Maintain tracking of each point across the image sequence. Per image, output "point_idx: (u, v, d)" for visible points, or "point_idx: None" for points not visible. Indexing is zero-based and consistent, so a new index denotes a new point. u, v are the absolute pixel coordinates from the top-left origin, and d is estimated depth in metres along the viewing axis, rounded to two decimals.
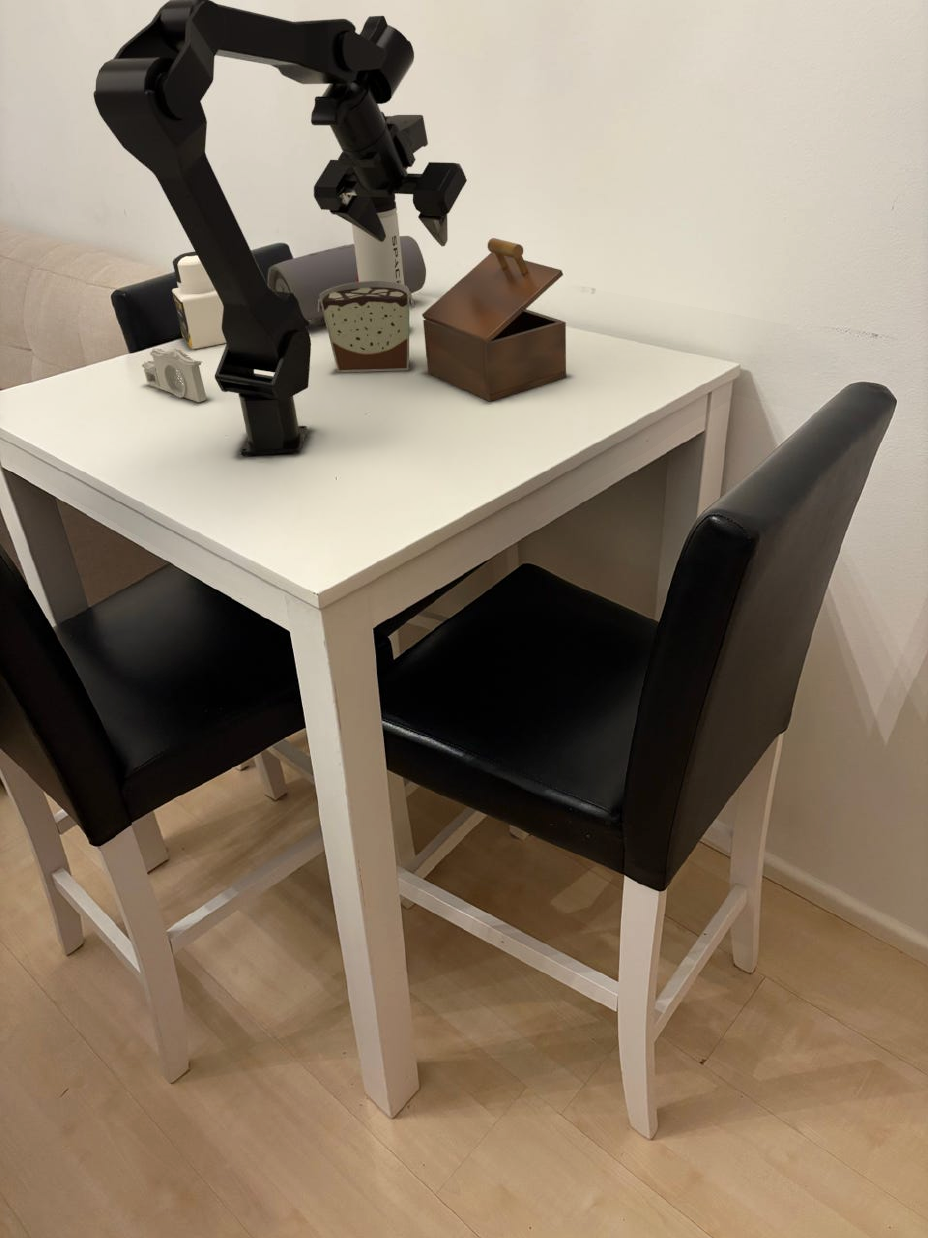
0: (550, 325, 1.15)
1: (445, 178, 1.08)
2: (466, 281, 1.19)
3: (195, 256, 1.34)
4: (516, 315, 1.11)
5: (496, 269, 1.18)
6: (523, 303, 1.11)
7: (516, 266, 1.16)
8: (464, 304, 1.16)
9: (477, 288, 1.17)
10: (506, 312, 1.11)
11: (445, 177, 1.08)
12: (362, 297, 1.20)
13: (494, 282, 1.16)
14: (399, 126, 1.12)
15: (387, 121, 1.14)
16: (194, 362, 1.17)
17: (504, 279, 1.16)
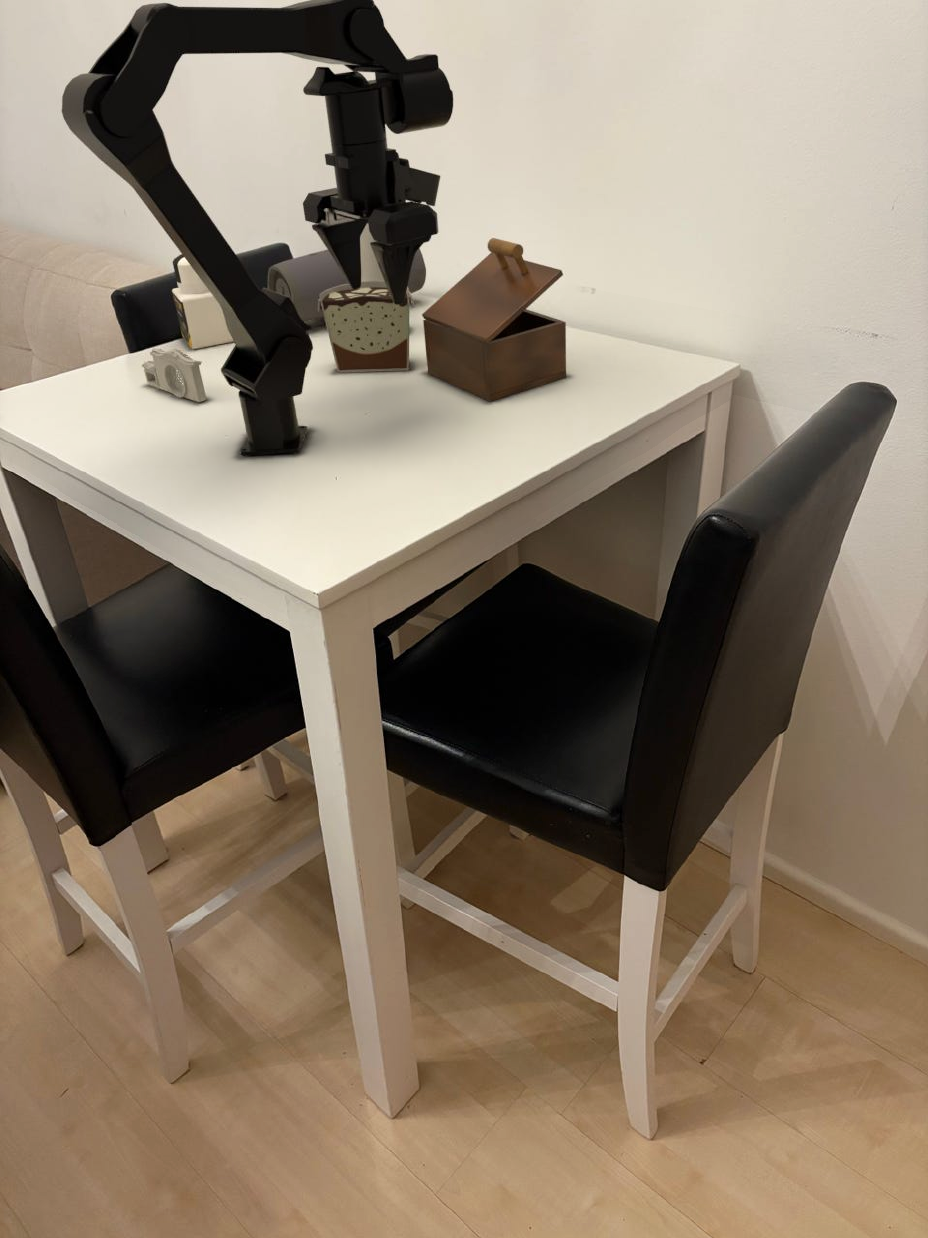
0: (550, 325, 1.15)
1: (408, 210, 0.96)
2: (466, 281, 1.19)
3: None
4: (516, 315, 1.11)
5: (496, 269, 1.18)
6: (523, 303, 1.11)
7: (516, 266, 1.16)
8: (464, 304, 1.16)
9: (477, 288, 1.17)
10: (506, 312, 1.11)
11: (409, 209, 0.96)
12: (362, 297, 1.20)
13: (494, 282, 1.16)
14: None
15: None
16: (194, 362, 1.17)
17: (504, 279, 1.16)
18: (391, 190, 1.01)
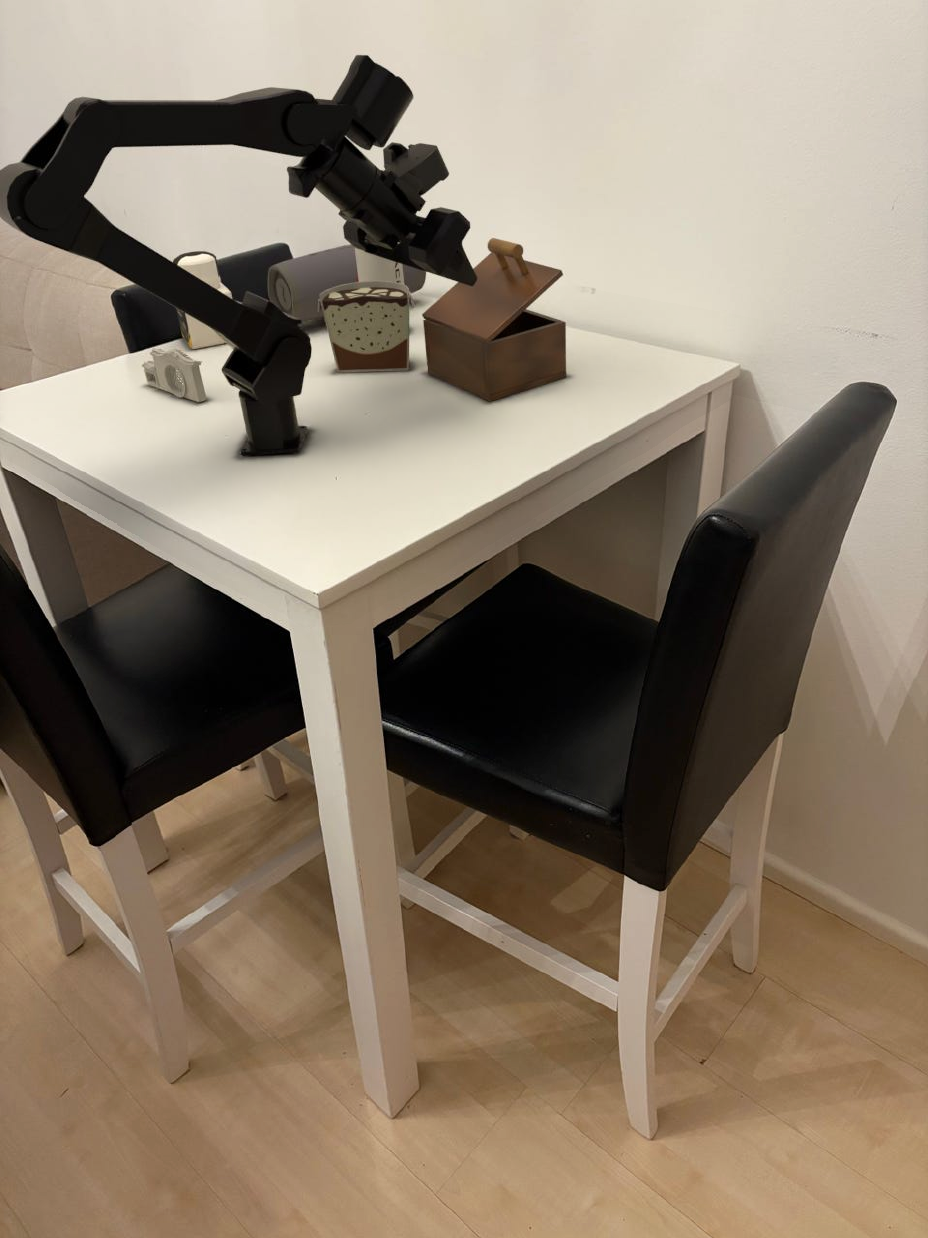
0: (550, 325, 1.15)
1: (436, 234, 0.98)
2: None
3: (195, 256, 1.34)
4: (516, 315, 1.11)
5: (496, 269, 1.18)
6: (523, 303, 1.11)
7: (516, 266, 1.16)
8: (464, 304, 1.16)
9: (477, 288, 1.17)
10: (506, 312, 1.11)
11: (436, 233, 0.98)
12: (362, 297, 1.20)
13: (494, 282, 1.16)
14: (407, 166, 1.02)
15: (404, 155, 1.04)
16: (194, 362, 1.17)
17: (504, 279, 1.16)
18: (408, 202, 1.02)
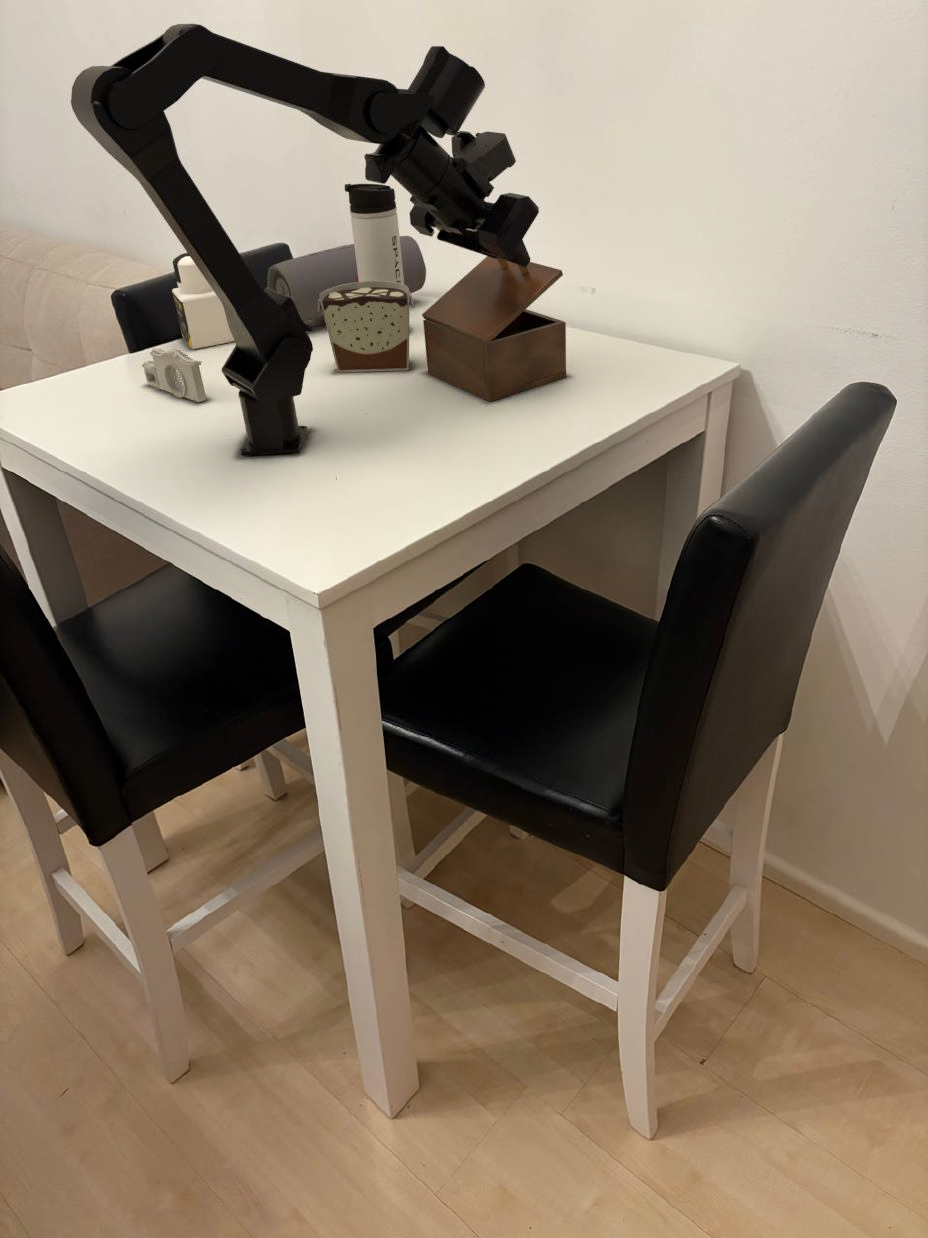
0: (550, 325, 1.15)
1: (507, 218, 1.02)
2: (466, 281, 1.19)
3: None
4: (516, 315, 1.11)
5: (496, 269, 1.18)
6: (523, 303, 1.11)
7: (516, 266, 1.16)
8: (464, 304, 1.16)
9: (477, 288, 1.17)
10: (506, 312, 1.11)
11: (507, 217, 1.02)
12: (362, 297, 1.20)
13: (494, 282, 1.16)
14: (476, 153, 1.05)
15: (472, 143, 1.08)
16: (194, 362, 1.17)
17: (504, 279, 1.16)
18: (477, 188, 1.06)
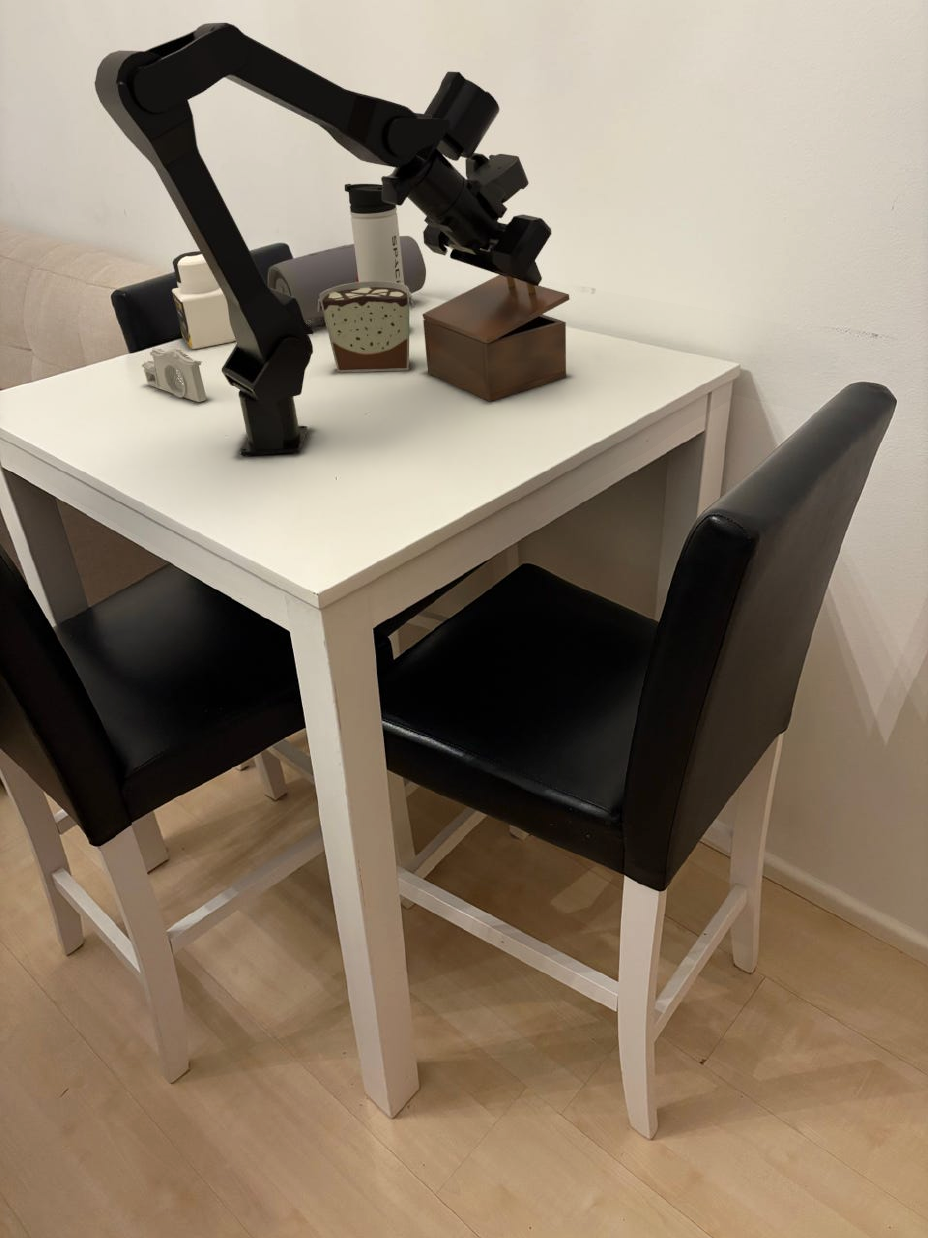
0: (550, 325, 1.15)
1: (520, 239, 1.04)
2: (471, 293, 1.20)
3: (195, 256, 1.34)
4: (519, 324, 1.11)
5: (503, 287, 1.20)
6: (527, 315, 1.12)
7: (523, 287, 1.18)
8: (467, 310, 1.17)
9: (482, 300, 1.18)
10: (510, 320, 1.12)
11: (520, 238, 1.04)
12: (362, 297, 1.20)
13: (500, 297, 1.18)
14: (490, 175, 1.08)
15: (486, 165, 1.10)
16: (194, 362, 1.17)
17: (510, 295, 1.17)
18: (491, 209, 1.08)
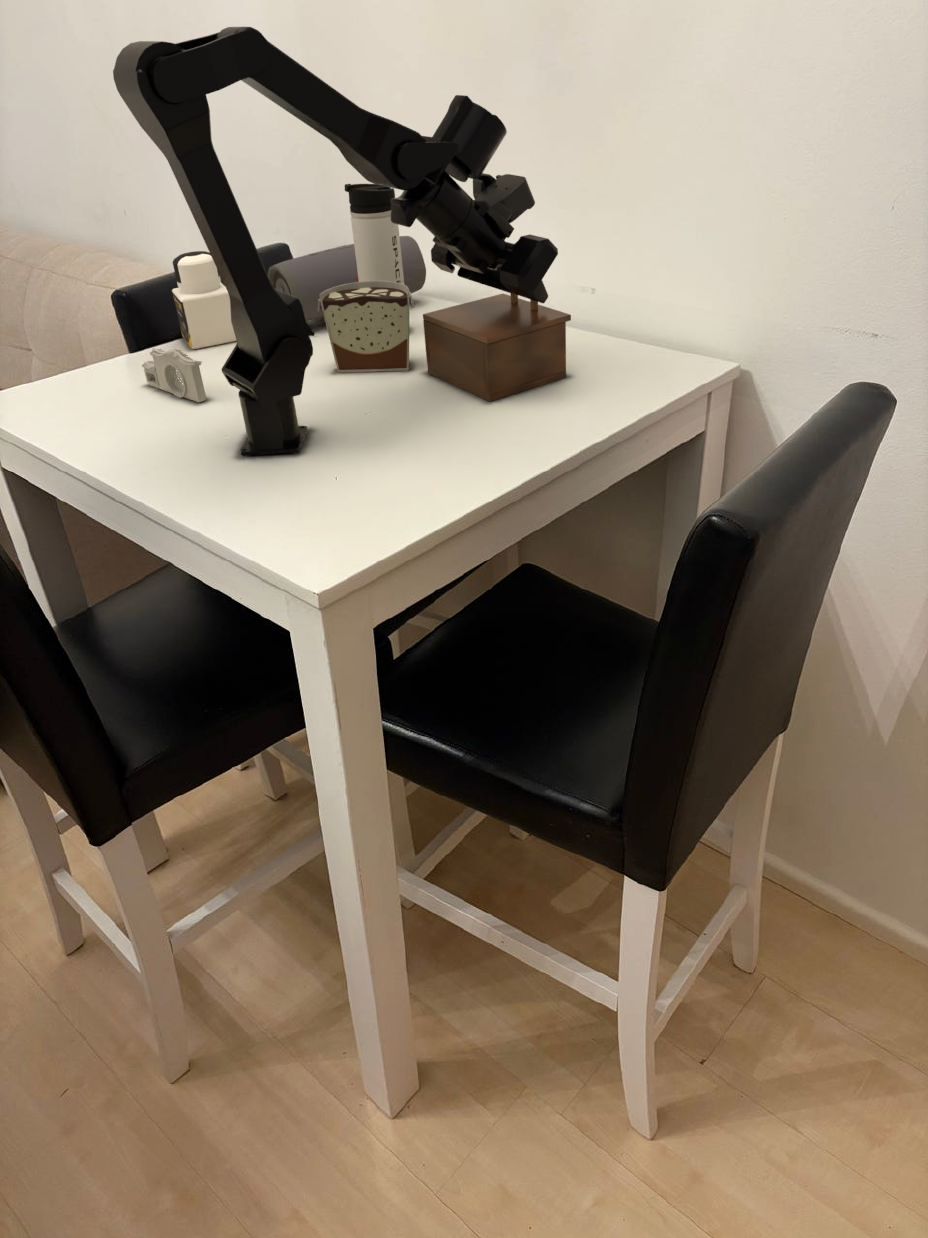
0: None
1: (528, 260, 1.06)
2: (473, 304, 1.21)
3: (195, 256, 1.34)
4: (520, 332, 1.12)
5: (505, 302, 1.21)
6: (529, 325, 1.13)
7: (526, 305, 1.20)
8: (468, 315, 1.17)
9: (484, 309, 1.19)
10: (511, 327, 1.12)
11: (528, 259, 1.06)
12: (362, 297, 1.20)
13: (502, 309, 1.19)
14: (497, 196, 1.09)
15: (493, 185, 1.11)
16: (194, 362, 1.17)
17: (512, 309, 1.18)
18: (498, 229, 1.10)
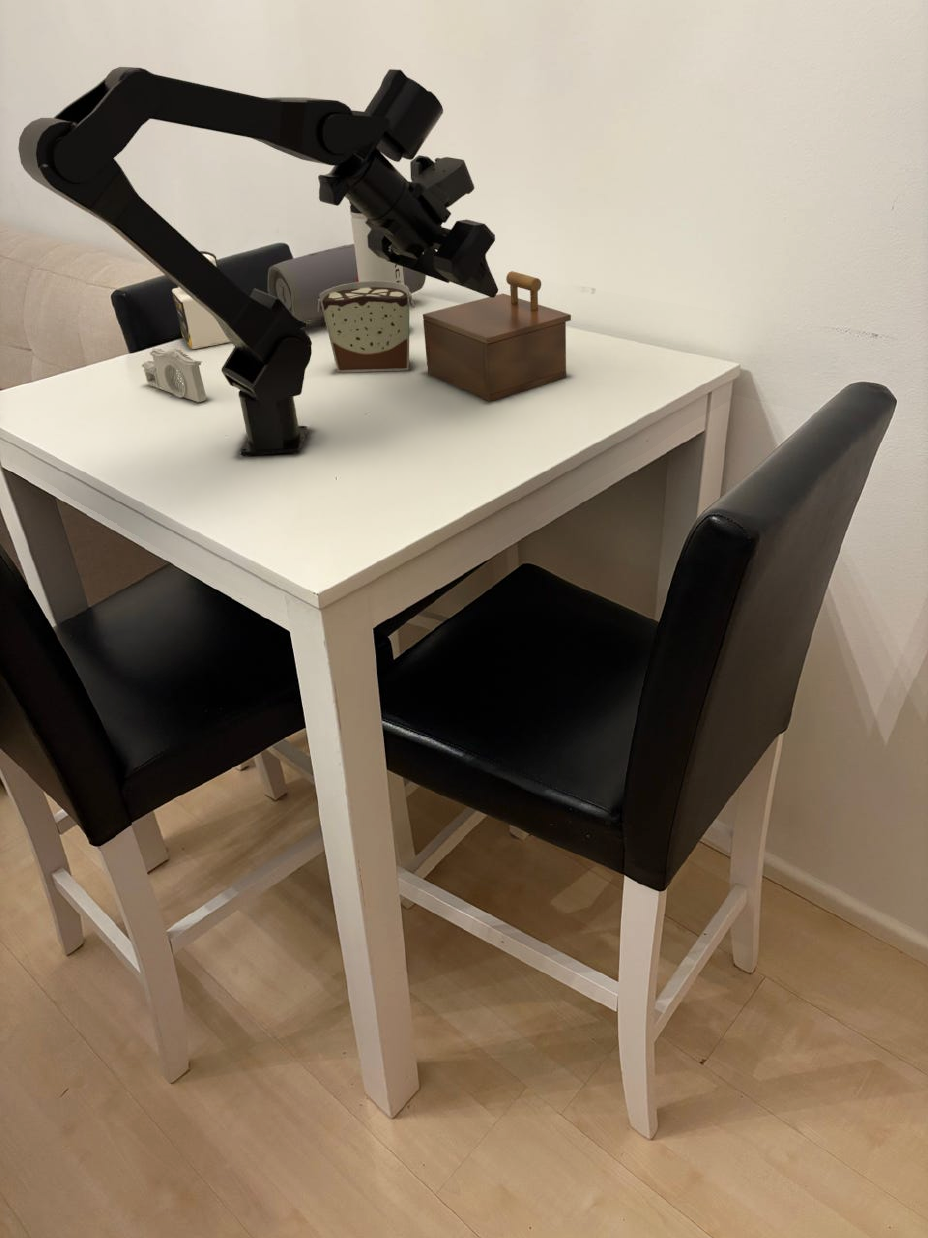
0: None
1: (462, 245, 1.01)
2: (473, 304, 1.21)
3: None
4: (520, 332, 1.12)
5: (505, 302, 1.21)
6: (529, 325, 1.13)
7: (526, 305, 1.20)
8: (468, 315, 1.17)
9: (484, 309, 1.19)
10: (511, 327, 1.12)
11: (462, 244, 1.01)
12: (362, 297, 1.20)
13: (502, 309, 1.19)
14: (434, 178, 1.04)
15: (431, 168, 1.06)
16: (194, 362, 1.17)
17: (512, 309, 1.18)
18: (434, 214, 1.05)
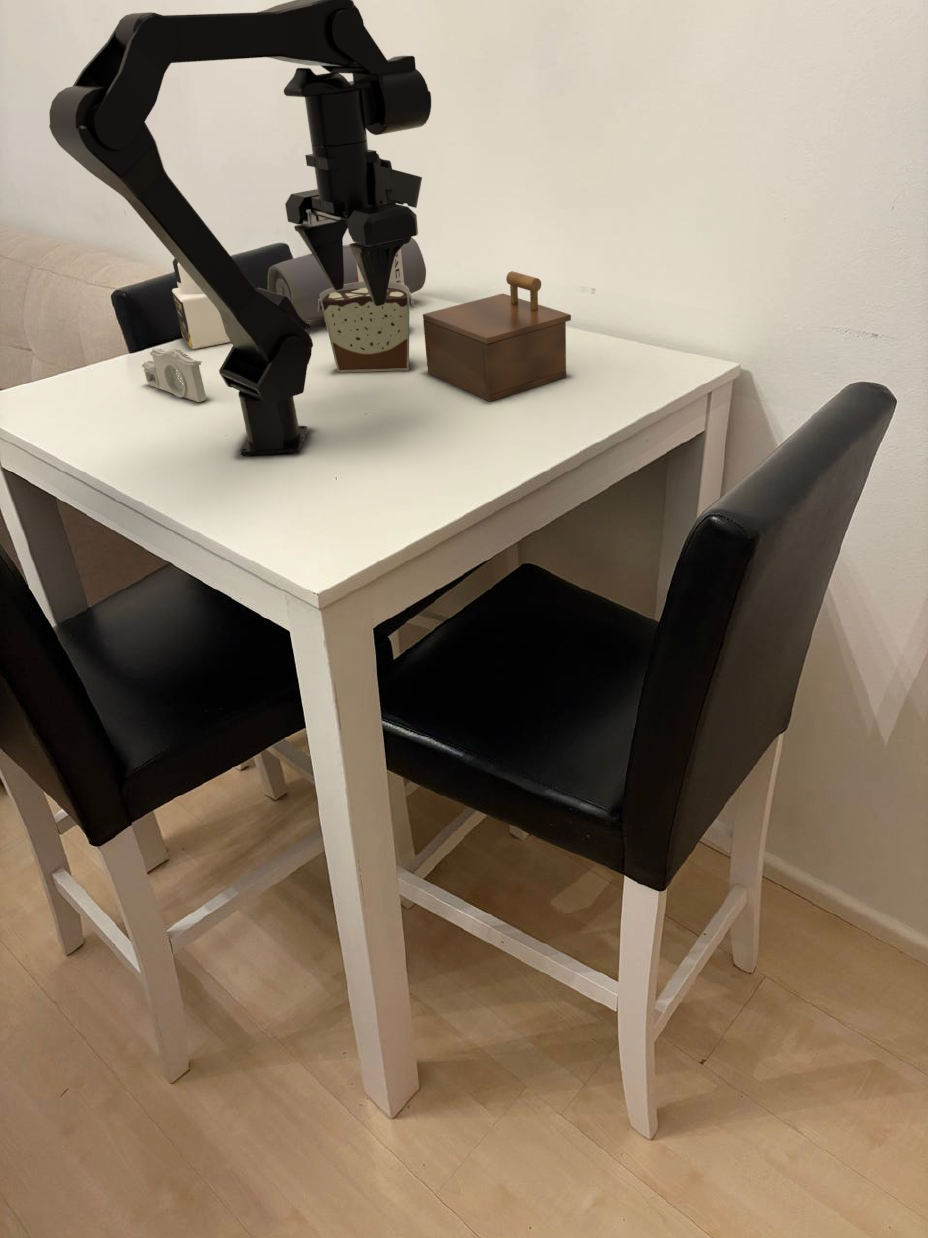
0: None
1: (387, 211, 0.96)
2: (473, 304, 1.21)
3: None
4: (520, 332, 1.12)
5: (505, 302, 1.21)
6: (529, 325, 1.13)
7: (526, 305, 1.20)
8: (468, 315, 1.17)
9: (484, 309, 1.19)
10: (511, 327, 1.12)
11: (388, 211, 0.96)
12: (362, 297, 1.20)
13: (502, 309, 1.19)
14: None
15: None
16: (194, 362, 1.17)
17: (512, 309, 1.18)
18: (372, 191, 1.01)
